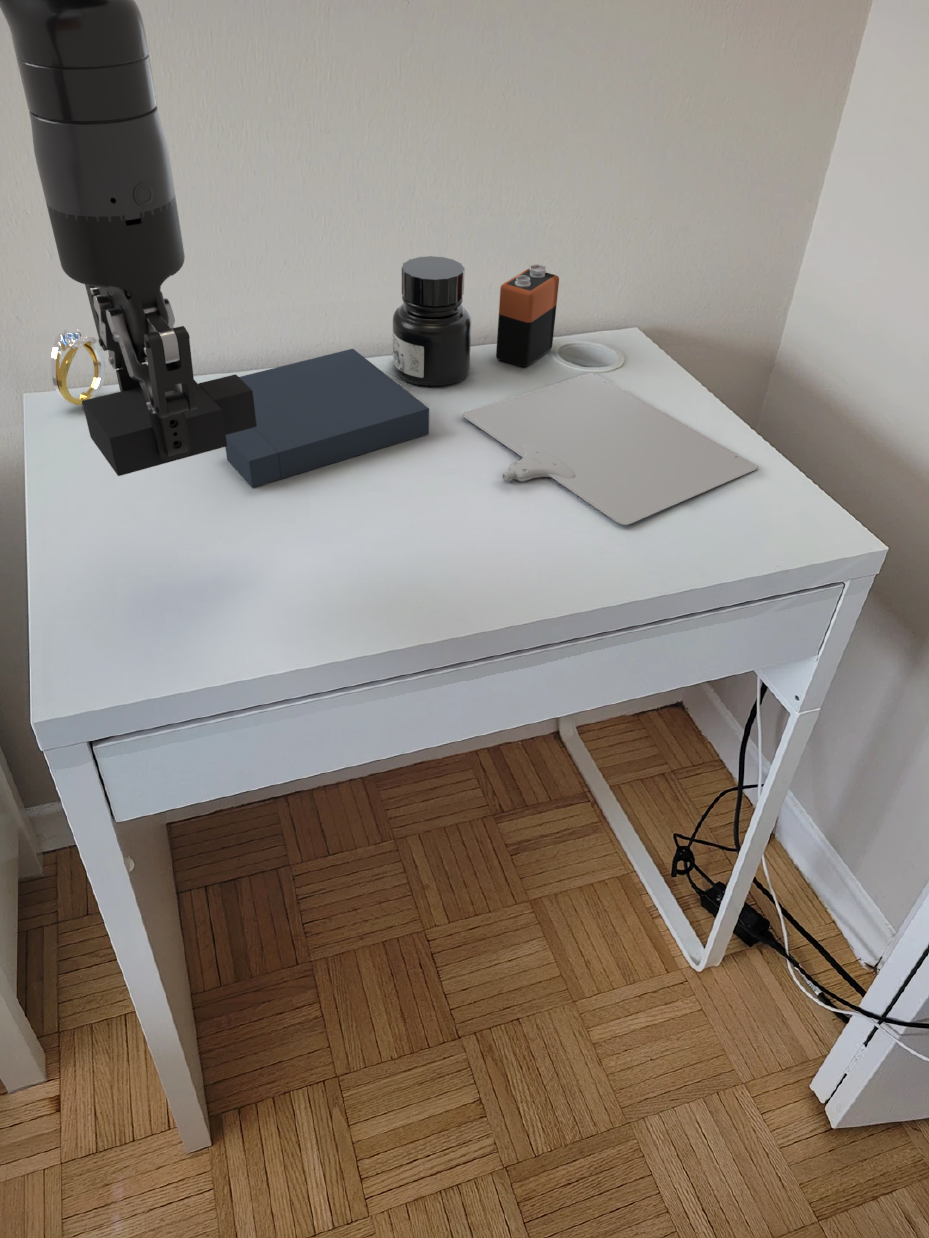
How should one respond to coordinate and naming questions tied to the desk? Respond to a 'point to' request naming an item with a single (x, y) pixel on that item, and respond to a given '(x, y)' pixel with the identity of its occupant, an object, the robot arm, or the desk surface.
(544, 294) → the battery
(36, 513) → the desk surface
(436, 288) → the ink bottle
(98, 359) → the ring
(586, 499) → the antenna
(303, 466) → the pad mat
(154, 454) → the pad tile
